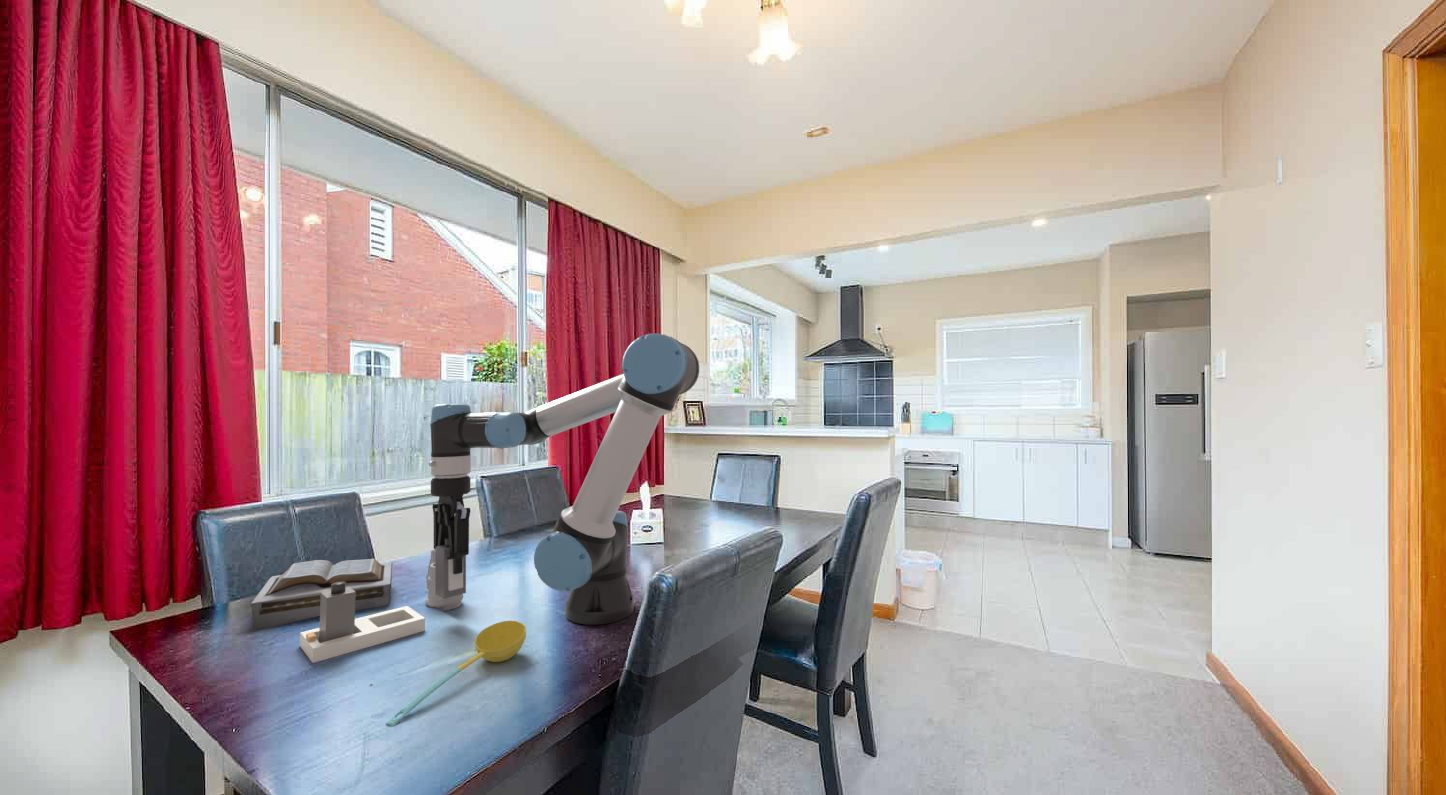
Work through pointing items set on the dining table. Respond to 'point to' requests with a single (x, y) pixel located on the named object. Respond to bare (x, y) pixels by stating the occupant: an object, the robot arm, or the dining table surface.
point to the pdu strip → (364, 633)
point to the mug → (434, 599)
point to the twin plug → (337, 612)
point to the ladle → (478, 656)
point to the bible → (319, 590)
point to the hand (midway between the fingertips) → (450, 586)
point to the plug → (446, 572)
